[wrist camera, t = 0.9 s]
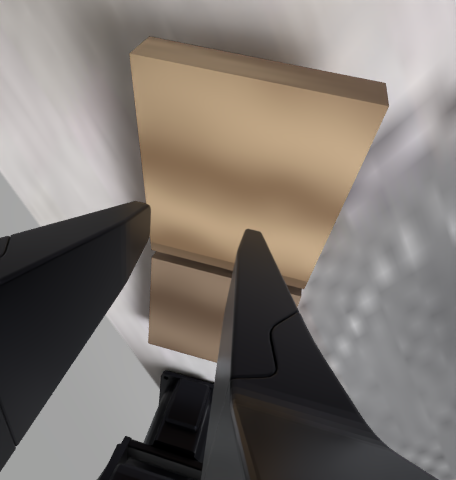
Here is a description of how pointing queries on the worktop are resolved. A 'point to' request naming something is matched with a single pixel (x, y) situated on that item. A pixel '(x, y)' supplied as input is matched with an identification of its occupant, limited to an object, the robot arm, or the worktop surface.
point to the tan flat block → (190, 305)
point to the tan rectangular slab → (247, 151)
